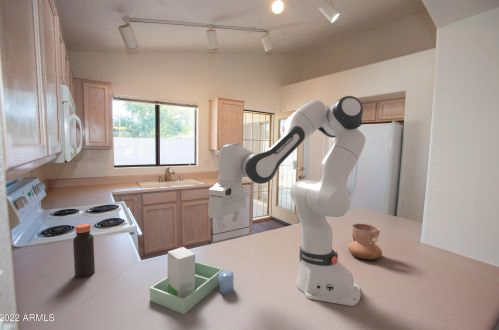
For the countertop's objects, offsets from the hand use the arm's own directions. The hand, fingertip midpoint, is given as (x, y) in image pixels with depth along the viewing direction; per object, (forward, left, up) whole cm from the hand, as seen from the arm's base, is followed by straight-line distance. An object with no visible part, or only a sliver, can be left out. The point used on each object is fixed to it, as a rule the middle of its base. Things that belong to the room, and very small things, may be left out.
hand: (228, 225), depth 90 cm
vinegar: (+56, +20, -23) cm, 64 cm away
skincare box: (+11, +13, -23) cm, 29 cm away
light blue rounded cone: (-1, +3, -23) cm, 23 cm away
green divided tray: (+11, +9, -23) cm, 27 cm away
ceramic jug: (-44, -52, -23) cm, 72 cm away
